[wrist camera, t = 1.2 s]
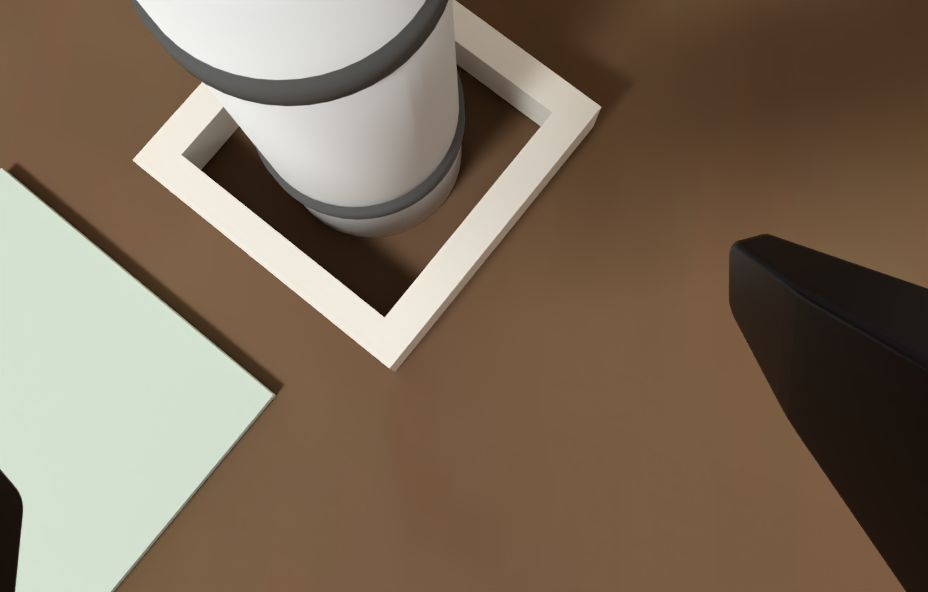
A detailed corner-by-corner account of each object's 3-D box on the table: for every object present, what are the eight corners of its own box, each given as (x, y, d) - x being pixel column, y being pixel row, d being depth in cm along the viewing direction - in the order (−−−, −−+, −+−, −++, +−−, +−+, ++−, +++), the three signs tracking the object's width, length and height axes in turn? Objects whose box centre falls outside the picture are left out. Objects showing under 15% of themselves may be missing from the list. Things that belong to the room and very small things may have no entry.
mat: (276, 395, 22) (273, 394, 22) (16, 709, 21) (9, 713, 21) (7, 171, 24) (1, 167, 23) (-253, 455, 22) (-263, 455, 22)
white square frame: (593, 126, 23) (601, 106, 22) (395, 372, 22) (389, 368, 21) (354, -50, 25) (346, -80, 23) (154, 176, 23) (132, 160, 22)
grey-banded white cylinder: (504, 137, 24) (534, -202, 11) (386, 279, 23) (268, 102, 10) (362, 30, 24) (230, -411, 11) (243, 166, 24) (-39, -137, 11)
